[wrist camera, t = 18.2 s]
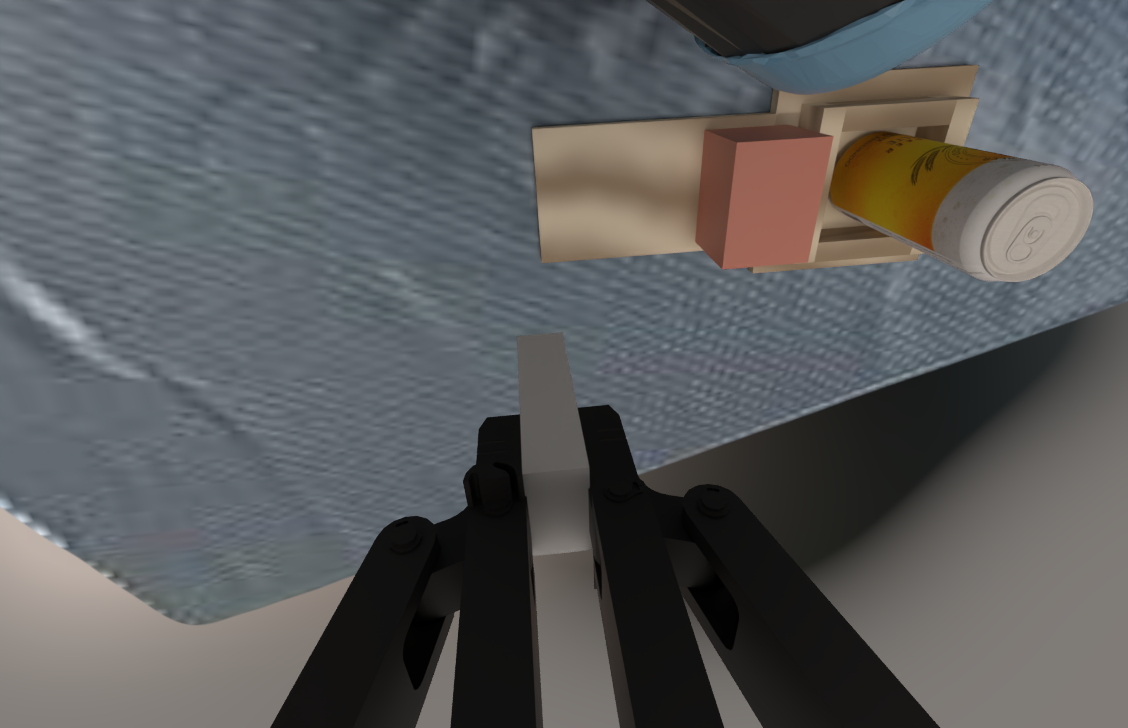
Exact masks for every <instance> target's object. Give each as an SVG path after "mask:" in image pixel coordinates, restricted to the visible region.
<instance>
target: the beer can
mask: <svg viewBox="0 0 1128 728" xmlns="http://www.w3.org/2000/svg"><path fill="white" fill-rule="evenodd" d="M830 193H831V198H832V201H833V203H834V205H835V207H836V208H837V209H838V210H839V211H840V212H841V213H842V214H844V215H846V216H848V217H850V218H852V219H854V220H856V221H859V222H861V223H863V224H865V225H867V226H869V227H871V228H873V229H875V230H877V231H879V232H881V233H884V234H886V235H888V236H890V237H892V238H894V239H896V240H898V241H900V242H902V243H904V244H906V245H909V246H911V247H913V248H915V249H917V250H919V251H921V252H923V253H925V254H927V255H929V256H932V257H934V258H936V259H938V260H940V261H942V262H944V263H946V264H948V265H950V266H952V267H954V268H957V269H959V270H961V271H963V272H965V273H967V274H969V275H971V276H973V277H975V278H978V279H980V280H985V281H1007V282H1020V281H1025V280H1029V279H1032V278H1035V277H1037V276H1039V275H1042V274H1044V273H1045V272H1047V271H1049V270H1050V269H1052V268H1054V267H1055V266H1056V265H1058V264H1059V263H1060V262H1061V261H1063V260H1064V259H1065V258H1066V257H1067V256H1068V255H1069V254H1070V253H1071V252H1072V251H1073V250H1074V249H1075V247H1076V246H1077V245H1078V244H1079V242H1080V241H1081V239H1082V238H1083V236H1084V234H1085V233H1086V231H1087V229H1088V226H1089V224H1090V221H1091V218H1092V213H1093V199H1092V195H1091V193H1090V191H1089V189H1088V188H1087V187H1086V186H1085V185H1084V184H1083V183H1082V182H1080V181H1078V180H1077V179H1076V178H1075V176H1074V175H1073V174H1072V173H1071V172H1070V171H1068V170H1067V169H1065V168H1063V167H1060V166H1056V165H1051V164H1046V163H1042V162H1037V161H1032V160H1027V159H1022V158H1017V157H1012V156H1007V155H1002V154H997V153H992V152H987V151H982V150H977V149H972V148H967V147H962V146H958V145H953V144H948V143H943V142H938V141H933V140H928V139H923V138H918V137H913V136H908V135H903V134H898V133H893V132H886V131H884V132H876V133H872V134H869V135H867V136H865V137H863V138H861V139H860V140H858V141H856V142H855V143H854V144H853V145H851V146H850V147H849V148H848V149H847V150H846V152H845V153H844V154H843V155H842V157H841V158H840V159H839V161H838V163H837V165H836V167H835V169H834V171H833V175H832V180H831V185H830Z"/></svg>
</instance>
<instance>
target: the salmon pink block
mask: <svg viewBox="0 0 1128 728" xmlns="http://www.w3.org/2000/svg"><path fill="white" fill-rule="evenodd" d="M833 137H834V136H831V135H827V134H823V133H819V132H815V131H811V130H807V129H803V128H799V127H796V126H792V125H774V126H758V127H743V128H727V129H712V130H704V142H703V154H702V166H701V178H700V189H699V201H698V213H697V225H696V237H695V242H696V243H697V244H698V245H699V246H700V247H701V248H702V249H703V250H704V251H705V252H706V253H707V254H708V255H709V256H710V257H711V258H712V259H713V260H714V261H715V262H716V263H717V264H718V265H719V266H720V267H721V268H722V269H733V268H745V267H758V266H770V265H783V264H795V263H808V260H809V255H810V250H811V245H812V240H813V235H814V230H815V225H816V221H817V216H818V211H819V206H820V201H821V196H822V191H823V186H824V181H825V176H826V171H827V167H828V162H829V157H830V152H831V147H832V142H833Z"/></svg>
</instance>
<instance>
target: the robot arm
mask: <svg viewBox="0 0 1128 728" xmlns="http://www.w3.org/2000/svg"><path fill="white" fill-rule="evenodd" d="M646 1H648V2H649V3H650V4H652V5H653V6H655V7H656V8H657V9H659V10H660V11H661V12H663V13H664V14H666V15H667V16H668V17H670V18H671V19H672V20H674V21H675V22H677V23H678V24H679V25H681V26H682V27H683V28H685V29H686V30H688V31H689V32H690V33H692V34H693V35H694V37H695V41H696V43H697V44H698V45H699V46H700V47H701V48H702V49H703V51H704V52H706V53H707V54H708V55H710V56H711V57H713V58H715V59H717V60H722V61H724V62H725V63H727V64H731V65H736V66H737V67H739V68H740V69H742V70H743V71H745V72H747V73H748V74H750V75H751V76H753V77H754V78H756V79H757V80H759V81H760V82H762V83H763V84H765V85H767V86H769V87H771V88H773V89H775V90H778V91H783V92H787V93H792V94H797V95H813V94H821V93H828V92H833V91H837V90H841V89H845V88H848V87H851V86H854V85H857V84H860V83H863V82H865V81H867V80H870V79H872V78H875V77H877V76H879V75H881V74H883V73H885V72H887V71H889V70H891V69H893V68H895V67H897V66H899V65H901V64H903V63H904V62H906V61H908V60H910V59H912V58H913V57H915V56H917V55H918V54H920V53H922V52H923V51H925V50H927V49H928V48H930V47H931V46H933V45H935V44H936V43H938V42H939V41H941V40H942V39H944V38H945V37H946V36H948V35H949V34H951V33H952V32H954V31H955V30H956V29H958V28H959V27H960V26H962V25H963V24H964V23H966V22H967V21H969V20H970V19H971V18H972V17H974V16H975V15H976V14H977V13H978V12H980V11H981V10H982V9H983V8H985V7H986V6H987V5H988V4H989V3H991V2H992V1H993V0H646ZM517 345H518V372H519V399H520V414H519V415H509V416H498V417H487V418H486V420H485V421H484V423H483V424H482V425H481V427H480V428H479V434H478V447H477V460H476V465H474V466H472V467H471V468H470V470H469V471H468V472H467V473H466V474H465V477H464V480H463V484H464V489H465V494H466V499H467V504H468V506H467V507H466V508H465V509H464V510H463V511H462V512H460V513H459V514H458V515H456V516H454V517H452V518H450V519H448V520H445V521H442V522H439V523H437V524H433V523H432V522H430V521H429V520H428V519H427V518H423V517H419V516H411V517H404V518H401V519H398V520H396V521H393V522H392V523H391V524H389V525H388V526H386V527H385V528H384V529H383V530H382V531H381V532H380V534H379V535H378V536H377V538H376V539H375V541H374V543H373V545H372V547H371V548H370V550H369V552H368V554H367V555H366V557H365V559H364V561H363V563H362V564H361V566H360V568H359V570H358V572H357V573H356V575H355V577H354V579H353V581H352V582H351V584H350V586H349V588H348V589H347V592H346V593H345V595H344V597H343V599H342V600H341V602H340V604H339V606H338V607H337V609H336V611H335V613H334V615H333V616H332V618H331V620H330V622H329V624H328V626H327V627H326V629H325V631H324V632H323V634H322V636H321V638H320V640H319V641H318V643H317V645H316V647H315V649H314V650H313V652H312V654H311V656H310V657H309V659H308V661H307V663H306V665H305V666H304V668H303V670H302V672H301V674H300V675H299V677H298V679H297V681H296V683H295V685H294V686H293V688H292V690H291V691H290V693H289V695H288V697H287V699H286V700H285V702H284V704H283V706H282V708H281V709H280V711H279V713H278V715H277V717H276V718H275V720H274V722H273V724H272V725H271V727H270V728H415V727H416V724H417V721H418V718H419V715H420V712H421V709H422V707H423V704H424V701H425V698H426V695H427V692H428V689H429V686H430V684H431V681H432V678H433V675H434V672H435V669H436V666H437V663H438V661H439V657H440V654H441V652H442V649H443V646H444V643H445V640H446V637H447V635H448V632H449V629H450V626H451V623H452V620H453V617H454V612H456V611H458V610H460V617H459V630H458V642H457V654H456V666H455V679H454V692H453V703H452V716H451V728H543V717H542V700H541V683H540V666H539V646H538V628H537V611H536V594H535V576H534V567H533V556H537V555H547V554H556V553H565V552H575V551H584V550H591V549H592V548H593V558H594V589H597V591H598V597H599V603H600V609H601V615H602V621H603V627H604V633H605V640H606V645H607V651H608V657H609V664H610V670H611V676H612V682H613V688H614V694H615V700H616V706H617V712H618V718H619V724H620V728H724V726H723V723H722V719H721V717H720V713H719V710H718V707H717V704H716V701H715V698H714V694H713V691H712V688H711V685H710V682H709V679H708V676H707V673H706V669H705V667H704V663H703V660H702V657H701V654H700V651H699V648H698V644H697V641H696V638H695V635H694V632H693V629H692V626H691V622H690V619H689V616H688V613H687V610H686V607H685V604H684V601H683V597H684V599H685V600H686V602H687V603H688V605H689V607H690V608H691V610H692V612H693V613H694V615H695V616H696V618H697V620H698V621H699V623H700V625H701V626H702V628H703V629H704V631H705V633H706V635H707V636H708V638H709V639H710V641H711V643H712V644H713V646H714V648H715V649H716V651H717V653H718V654H719V656H720V657H721V659H722V661H723V663H724V664H725V665H726V667H727V669H728V671H729V672H730V674H731V676H732V677H733V679H734V681H735V682H736V684H737V685H738V687H739V689H740V690H741V692H742V694H743V695H744V697H745V699H746V700H747V702H748V703H749V705H750V707H751V708H752V710H753V712H754V713H755V715H756V717H757V718H758V720H759V722H760V723H761V725H762V727H763V728H940V727H939V726H938V725H937V724H936V722H935V721H933V719H932V718H931V717H930V716H929V714H928V713H927V712H926V711H925V710H924V709H923V708H922V706H921V705H920V704H919V703H918V702H917V701H916V700H915V698H914V697H913V696H912V695H911V694H910V693H909V692H908V691H907V689H906V688H905V687H904V686H903V685H902V684H901V683H900V681H899V680H898V679H897V678H896V677H895V676H894V674H893V673H892V672H891V671H890V670H889V669H888V668H887V667H886V665H885V664H884V663H883V662H882V661H881V660H880V658H878V656H877V655H876V654H875V653H874V652H873V650H872V649H871V648H870V647H869V646H868V645H867V644H866V642H865V641H864V640H863V639H862V638H861V637H860V636H859V634H858V633H857V632H856V631H855V630H854V629H853V628H852V626H851V625H850V624H849V623H848V622H847V621H846V620H845V618H844V617H843V616H842V615H841V614H840V613H839V612H838V610H837V609H836V608H835V607H834V606H833V605H832V604H831V602H830V601H829V600H828V599H827V598H826V597H825V596H824V595H823V593H822V592H821V591H820V590H819V589H818V588H817V586H816V585H815V584H814V583H813V582H812V581H811V580H810V578H809V577H808V576H807V575H806V574H805V573H804V572H803V571H802V569H801V568H800V567H799V566H798V565H797V564H796V562H795V561H794V560H793V559H792V558H791V557H790V556H789V554H788V553H787V552H786V551H785V550H784V549H783V548H782V546H781V545H780V544H779V543H778V542H777V541H776V540H775V539H774V537H773V536H772V535H771V534H770V533H769V532H768V530H767V529H766V528H765V527H764V526H763V525H762V524H761V522H760V521H759V520H758V519H757V518H756V517H755V515H753V513H752V512H751V511H750V510H749V509H748V508H747V506H746V505H745V504H744V503H743V502H742V501H741V499H740V498H739V497H738V496H736V495H735V494H734V493H733V492H732V491H730V490H728V489H726V488H723V487H721V486H718V485H711V484H705V485H698V486H695V487H693V488H692V489H690V490H688V492H687V493H686V494H685V496H684V497H678V496H671V495H666V494H661V493H658V492H656V491H654V490H652V489H650V488H648V487H647V486H646V485H645V483H644V482H643V481H642V480H641V479H640V478H639V476H638V474H637V471H636V468H635V465H634V462H633V458H632V455H631V452H630V449H629V445H628V442H627V439H626V436H625V432H624V429H623V426H622V423H621V420H620V416H619V414H618V413H617V412H616V411H614V410H613V409H612V408H611V407H610V406H609V405H602V406H592V407H581V408H577V403H576V398H575V393H574V388H573V383H572V378H571V373H570V368H569V363H568V358H567V353H566V348H565V343H564V338H563V333H562V332H561V333H550V334H538V335H526V336H517ZM682 595H683V597H682Z"/></svg>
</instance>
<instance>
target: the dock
mask: <svg viewBox="0 0 1128 728" xmlns="http://www.w3.org/2000/svg"><path fill="white" fill-rule="evenodd" d="M978 67H979V65H956V66H939V67H922V68H906V69H891V70H889V71H887V72H885V73H883V74H881V75H879V76H877V77H875V78H872V79H870V80H867V81H865V82H863V83H860V84H857V85H854V86H851V87H848V88H845V89H841V90H837V91H833V92H828V93H821V94H813V95H797V94H792V93H787V92H783V91H778V90H775V89H773V94H772V101H771V108H770V112H766V113H750V114H735V115H719V116H703V117H687V118H671V119H656V120H640V121H624V122H608V123H592V124H577V125H561V126H545V127H532V139H533V153H534V167H535V181H536V194H537V208H538V222H539V236H540V249H541V261H542V263H550V262H563V261H575V260H588V259H601V258H614V257H627V256H640V255H652V254H665V253H678V252H691V251H704V250H703V249H702V248H701V247H700V246H699V245H698V244H697V243H696V242H695V237H696V225H697V213H698V201H699V189H700V178H701V166H702V154H703V142H704V130H712V129H727V128H743V127H758V126H774V125H792V126H796V127H799V128H803V129H807V130H811V131H815V132H819V133H823V134H827V135H831V136H834V137H833V142H832V147H831V152H830V157H829V162H828V167H827V171H826V176H825V181H824V186H823V191H822V196H821V201H820V206H819V211H818V216H817V221H816V225H815V230H814V235H813V240H812V245H811V250H810V255H809V260H808V263H795V264H783V265H770V266H758V267H748V270H749V271H751V272H752V273H762V272H775V271H787V270H799V269H812V268H824V267H837V266H849V265H861V264H874V263H886V262H898V261H911V260H918V257H919V254H924V253H923V252H921V251H919V250H917V249H915V248H913V247H911V246H909V245H906V244H904V243H902V242H900V241H898V240H896V239H894V238H892V237H890V236H888V235H886V234H884V233H881V232H879V231H877V230H875V229H873V228H871V227H869V226H867V225H865V224H863V223H861V222H859V221H856V220H854V219H852V218H850V217H848V216H846V215H844V214H842V213H841V212H840V211H839V210H838V209H837V208H836V207H835V205H834V203H833V201H832V198H831V193H830V185H831V180H832V175H833V171H834V169H835V167H836V165H837V163H838V161H839V159H840V158H841V157H842V155H843V154H844V153H845V152H846V150H847V149H848V148H849V147H850V146H851V145H853V144H854V143H855V142H856V141H858V140H860V139H861V138H863V137H865V136H867V135H869V134H872V133H876V132H884V131H886V132H893V133H898V134H903V135H908V136H913V137H918V138H923V139H928V140H933V141H938V142H943V143H948V144H953V145H958V146H962V147H964V144H965V141H966V138H967V135H968V132H969V129H970V126H971V123H972V119H973V116H974V113H975V110H976V107H977V104H978V101H979V98H971V97H969V95H970V92H971V89H972V86H973V83H974V79H975V76H976V73H977V70H978Z"/></svg>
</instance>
